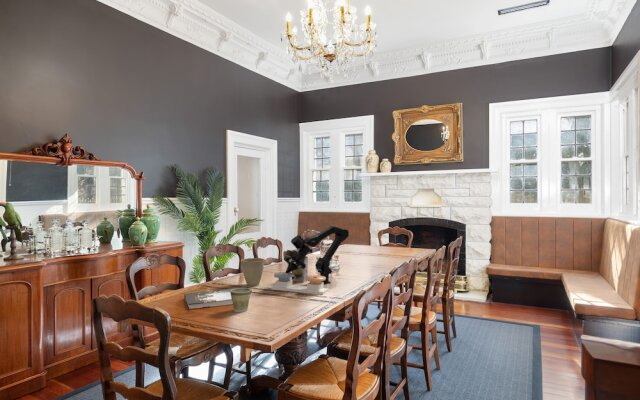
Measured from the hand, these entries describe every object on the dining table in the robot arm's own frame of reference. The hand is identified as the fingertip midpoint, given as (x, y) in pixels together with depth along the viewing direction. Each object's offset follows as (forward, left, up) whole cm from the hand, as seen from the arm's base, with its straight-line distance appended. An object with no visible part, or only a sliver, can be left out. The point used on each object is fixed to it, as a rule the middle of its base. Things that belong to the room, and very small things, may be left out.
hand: (286, 273), depth 247 cm
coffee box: (-19, +13, -9) cm, 24 cm away
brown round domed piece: (+13, +15, -7) cm, 21 cm away
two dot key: (0, -1, -6) cm, 6 cm away
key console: (+7, +7, -9) cm, 13 cm away
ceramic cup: (+38, -29, -9) cm, 49 cm away
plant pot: (-16, -18, -9) cm, 26 cm away
